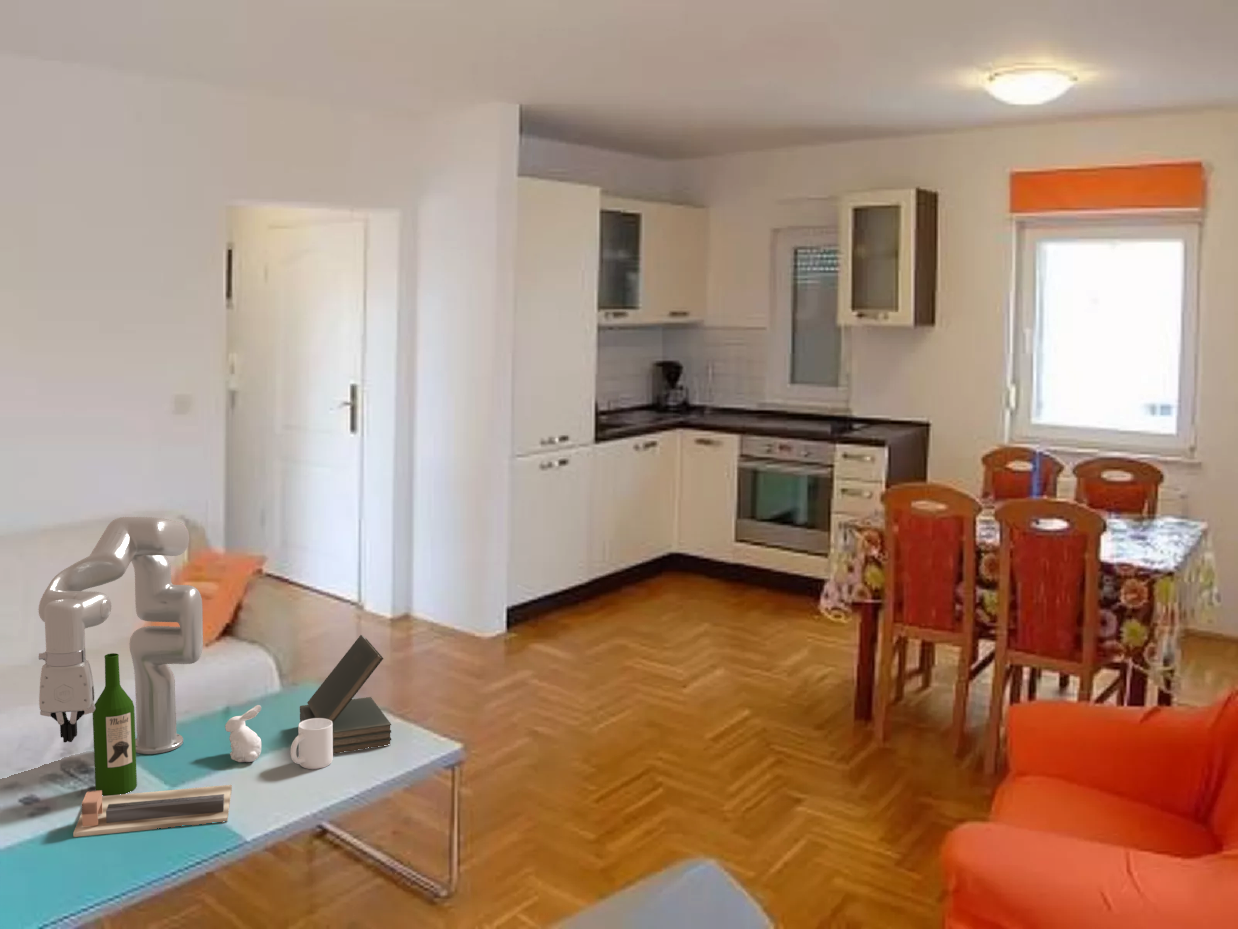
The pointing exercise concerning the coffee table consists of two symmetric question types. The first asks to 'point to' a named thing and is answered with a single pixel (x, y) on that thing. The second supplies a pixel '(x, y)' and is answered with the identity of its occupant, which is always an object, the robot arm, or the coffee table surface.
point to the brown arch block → (91, 808)
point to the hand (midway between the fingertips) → (69, 739)
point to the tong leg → (164, 801)
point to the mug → (314, 743)
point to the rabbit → (244, 737)
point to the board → (159, 820)
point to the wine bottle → (114, 735)
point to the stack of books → (350, 702)
